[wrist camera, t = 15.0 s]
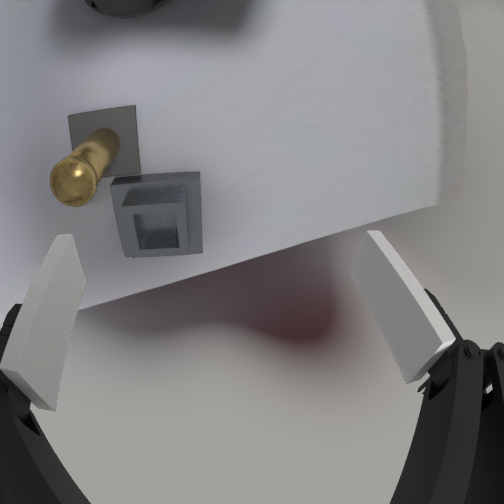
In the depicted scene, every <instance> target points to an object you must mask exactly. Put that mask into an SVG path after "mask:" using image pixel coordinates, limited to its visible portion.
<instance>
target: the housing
mask: <svg viewBox="0 0 504 504" xmlns="http://www.w3.org/2000/svg"><path fill="white" fill-rule="evenodd" d="M110 186H111V192H112V197H113V203H114V208H115V213H116V218H117V223H118V228H119V232H120V237H121V241H122V246H123V250H124V254H125V257H132V258H134V257H154V256H174V255H189V254H198V253H203V248H202V225H201V194H200V172H181V173H164V174H149V175H136V176H125V177H115V178H114V180H113V182H112V184H111V185H110Z"/></svg>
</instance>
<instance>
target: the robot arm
mask: <svg viewBox="0 0 504 504" xmlns="http://www.w3.org/2000/svg"><path fill="white" fill-rule="evenodd" d="M168 1H169V0H85V2H86V3H87V4H88V5H89V6H90V7H91V8H92V9H93V10H95V11H97V12H99V13H101V14H104V15H107V16H111V17H116V18H129V17H136V16H140V15H143V14H146V13H149V12H151V11H153V10H155V9H157V8H159V7H161V6H162V5H164V4H165V3H166V2H168ZM351 277H352V279H353V280H354V282H355V284H356V286H357V288H358V289H359V291H360V293H361V295H362V297H363V299H364V300H365V302H366V304H367V306H368V308H369V310H370V312H371V313H372V315H373V317H374V319H375V321H376V323H377V325H378V327H379V329H380V331H381V333H382V334H383V337H384V338H385V340H386V342H387V344H388V346H389V348H390V350H391V353H392V354H393V357H394V359H395V361H396V363H397V365H398V367H399V369H400V371H401V373H402V375H403V377H404V380H405V382H406V384H408V383H411V382H414V381H417V380H420V379H421V378H422V377H423V376H424V375H425V374H426V373H427V372H428V373H429V375H430V377H429V378H428V379H427V380H426V381H425V382H424V383H423V384H422V385H421V386H420V387H419V389H418V392H420V391H421V390H422V389H423V388H424V387H426V388H425V391H424V392H423V393H422V394H424V397H423V401H422V406H421V410H420V414H419V418H418V422H417V426H416V429H415V433H414V436H413V440H412V443H411V447H410V450H409V453H408V456H407V459H406V462H405V465H404V468H403V471H402V474H401V476H400V479H399V482H398V485H397V487H396V490H395V492H394V494H393V497H392V499H391V502H390V504H504V344H503V343H500V342H497V343H496V344H495V345H494V346H493V347H492V348H491V349H490V350H484V349H480V348H479V347H478V345H477V344H476V343H474V342H473V341H470V340H463V339H462V337H461V336H460V334H459V332H458V331H457V329H456V328H455V326H454V325H453V323H452V321H451V320H450V318H449V317H448V315H447V314H445V311H444V310H443V308H442V307H441V306H440V304H439V302H438V300H437V299H436V298H435V296H434V295H433V294H431V293H430V292H429V291H428V290H427V289H423V288H422V286H421V285H420V283H419V282H418V281H417V279H416V278H415V276H414V275H413V274H412V272H411V271H410V270H409V268H408V267H407V266H406V264H405V263H404V262H403V260H402V259H401V258H400V256H399V255H398V254H397V252H396V251H395V250H394V248H393V247H392V246H391V245H390V243H389V242H388V241H387V239H386V238H385V237H384V236H383V234H382V233H381V232H380V231H366V234H365V237H364V240H363V243H362V245H361V248H360V251H359V253H358V256H357V259H356V262H355V264H354V267H353V269H352V272H351ZM86 283H87V281H86V278H85V275H84V272H83V269H82V266H81V263H80V259H79V256H78V252H77V249H76V245H75V242H74V238H73V234H57V236H56V238H55V239H54V241H53V243H52V245H51V247H50V249H49V250H48V252H47V254H46V256H45V258H44V260H43V262H42V264H41V266H40V268H39V270H38V272H37V274H36V276H35V278H34V280H33V282H32V284H31V286H30V288H29V291H28V293H27V295H26V297H25V299H24V302H23V304H15V305H14V306H13V307H12V309H11V310H10V311H9V312H8V313H7V316H6V318H5V321H4V323H3V327H2V328H1V330H0V504H91V503H90V502H89V501H88V499H87V498H86V497H85V496H84V494H83V493H82V492H81V490H80V489H79V488H78V486H77V485H76V484H75V482H74V481H73V479H72V478H71V476H70V475H69V474H68V472H67V471H66V469H65V468H64V466H63V465H62V463H61V462H60V460H59V458H58V457H57V455H56V454H55V452H54V450H53V449H52V447H51V445H50V444H49V442H48V440H47V438H46V437H45V435H44V433H43V431H42V430H41V428H40V426H39V424H38V422H37V420H36V418H35V416H34V414H33V413H32V411H31V410H30V404H31V402H32V403H33V404H34V405H35V406H36V407H37V408H40V409H44V410H50V411H55V410H56V404H57V398H58V392H59V386H60V381H61V376H62V370H63V366H64V362H65V357H66V353H67V349H68V345H69V341H70V337H71V333H72V329H73V326H74V322H75V318H76V315H77V311H78V308H79V305H80V301H81V298H82V295H83V292H84V289H85V286H86ZM491 384H492V387H493V390H492V391H490V392H489V393H488V394H487V392H486V388H487V387H488V386H490V385H491Z"/></svg>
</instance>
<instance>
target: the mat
mask: <svg viewBox="0 0 504 504" xmlns="http://www.w3.org/2000/svg"><path fill="white" fill-rule="evenodd" d="M68 122H69V130H70V137H71V144H72V150H73V151H74V150H75V149H76V148H77V147H78V146H79V145H80V144H81V143H82V142H83V141H84V140H85V139H86V138H87V137H89V136H90V135H91V134H92V133H93V132H94V131H95V130H97V129H100V128H108V129H111V130H113V131H114V132H115V133H116V134H117V135H118V137H119V140H120V149H119V151H118V153H117V155H116V156H115V158H114V159H113V161H112V162H111V164H110V165H109V167H108V168H107V170H106V171H105V173H104V174H103V176H102V177H110V176H120V175H131V174H140V173H141V169H140V159H139V148H138V136H137V122H136V105H133V106H125V107H117V108H110V109H103V110H97V111H91V112H85V113H80V114H74V115H69V116H68Z"/></svg>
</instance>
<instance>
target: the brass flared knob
mask: <svg viewBox="0 0 504 504" xmlns="http://www.w3.org/2000/svg"><path fill="white" fill-rule="evenodd" d="M119 149H120V140H119V137H118V135H117V134H116V133H115V132H114V131H113V130H111V129H108V128H100V129H97V130H95V131H94V132H93V133H92V134H91V135H90V136H89V137H87V138H86V139H85V140H84V141H83V142H82V143H81V144H80V145H79V146H78V147H77V148H76V149H75V150H74V151H73V152H72V153H71V154H70V155H69V156H68V157H66V158H64V159H62V160H61V161H60V162H59V163H58V164H57V165H56V166H55V167H54V168H53V170H52V172H51V175H50V186H51V190H52V192H53V194H54V195H55V197H56V198H57V199H58V200H59V201H60V202H62V203H63V204H65V205H68V206H72V207H78V206H82V205H84V204H86V203H88V202H89V201H90V200H91V198H92V197H93V195H94V193H95V192H96V189H97V186H98V182H99V181H100V179H101V177H102V176H103V174H104V173H105V171H106V170H107V168H108V167H109V165H110V164H111V162H112V161H113V159H114V158H115V156H116V155H117V153H118V151H119Z"/></svg>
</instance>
